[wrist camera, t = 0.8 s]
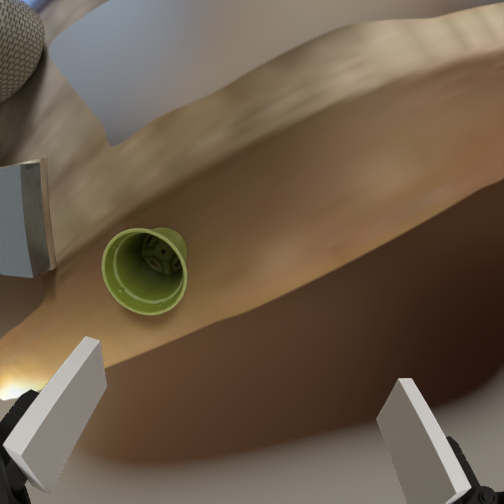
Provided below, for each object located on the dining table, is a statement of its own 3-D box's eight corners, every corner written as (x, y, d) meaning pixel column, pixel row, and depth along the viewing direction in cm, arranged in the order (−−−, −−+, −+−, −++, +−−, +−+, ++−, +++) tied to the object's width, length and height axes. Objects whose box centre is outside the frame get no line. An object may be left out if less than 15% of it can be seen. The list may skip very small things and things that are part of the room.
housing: (17, 265, 37) (0, 274, 33) (6, 168, 32) (-13, 171, 28) (50, 267, 37) (33, 278, 33) (39, 162, 32) (20, 164, 28)
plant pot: (154, 198, 36) (126, 209, 27) (216, 242, 37) (204, 266, 29) (119, 256, 38) (89, 280, 30) (176, 297, 40) (158, 331, 31)
